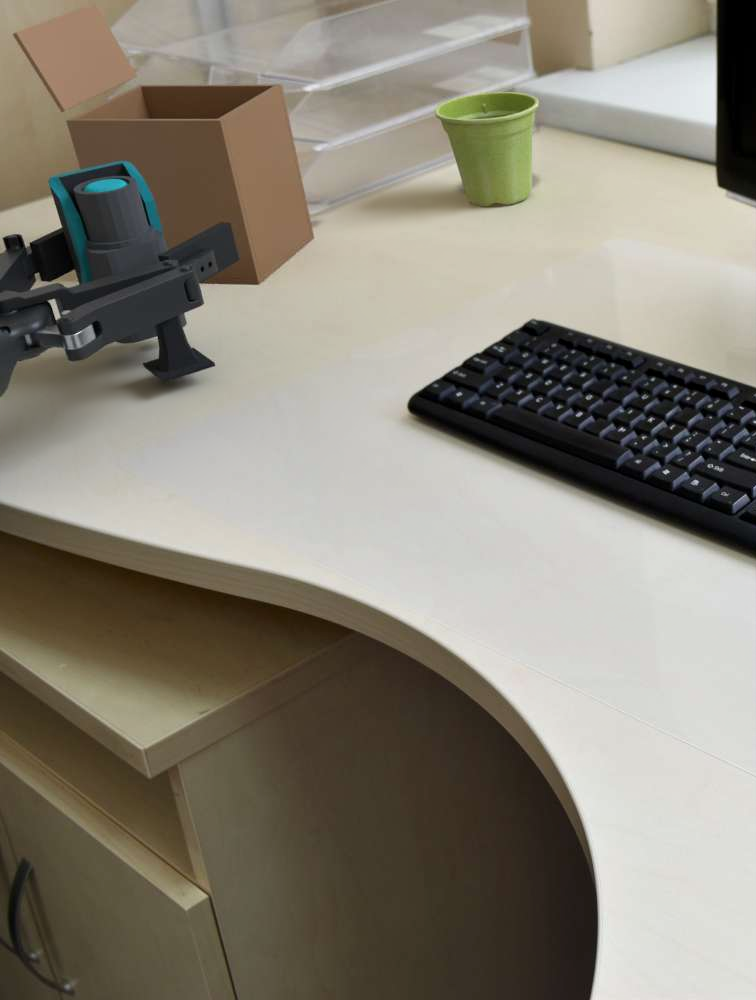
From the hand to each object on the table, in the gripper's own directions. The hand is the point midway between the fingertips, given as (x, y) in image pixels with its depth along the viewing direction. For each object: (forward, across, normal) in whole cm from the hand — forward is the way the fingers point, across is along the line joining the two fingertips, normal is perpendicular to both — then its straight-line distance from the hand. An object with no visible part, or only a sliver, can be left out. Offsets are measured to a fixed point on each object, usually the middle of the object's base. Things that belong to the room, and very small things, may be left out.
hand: (167, 235), depth 96 cm
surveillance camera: (-4, +1, -7) cm, 8 cm away
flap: (+17, -19, +8) cm, 27 cm away
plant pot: (+38, +5, -10) cm, 40 cm away
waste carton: (+18, -12, -10) cm, 24 cm away
